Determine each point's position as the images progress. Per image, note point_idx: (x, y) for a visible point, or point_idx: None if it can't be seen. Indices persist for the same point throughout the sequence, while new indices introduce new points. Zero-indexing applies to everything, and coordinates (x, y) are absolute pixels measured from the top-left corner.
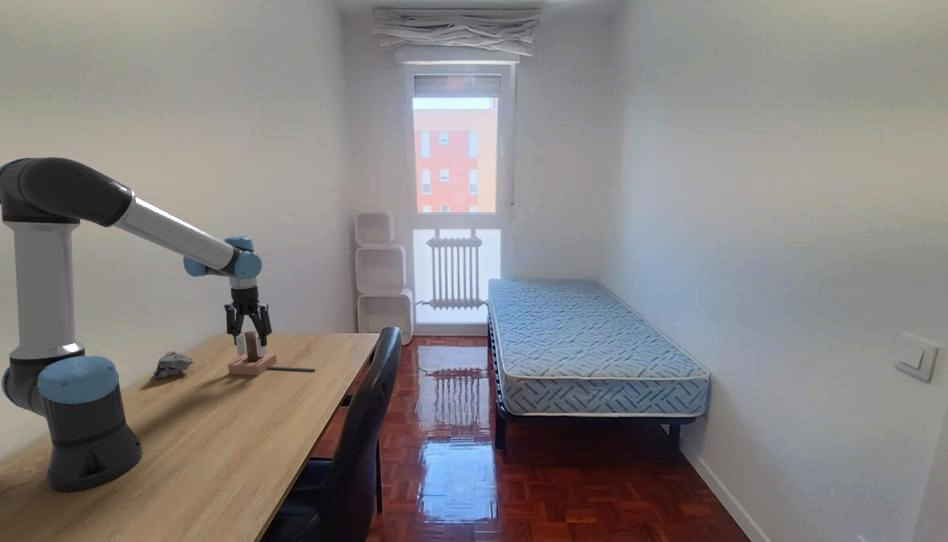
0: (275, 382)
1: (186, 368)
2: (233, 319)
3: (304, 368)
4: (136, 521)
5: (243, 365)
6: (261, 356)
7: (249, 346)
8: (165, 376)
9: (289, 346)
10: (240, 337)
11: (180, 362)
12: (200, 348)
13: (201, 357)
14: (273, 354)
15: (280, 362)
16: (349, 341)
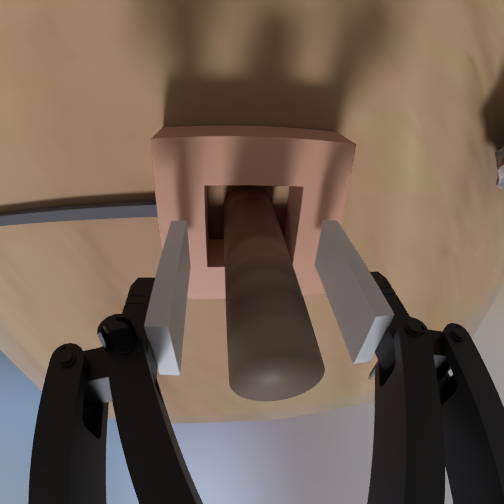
0: (41, 86)
1: (498, 155)
2: (456, 454)
3: (12, 222)
4: None
5: (253, 139)
6: (170, 225)
7: (256, 265)
8: None
9: (226, 373)
10: (359, 327)
11: None
12: (478, 310)
13: (474, 265)
14: None
15: (157, 269)
16: None
